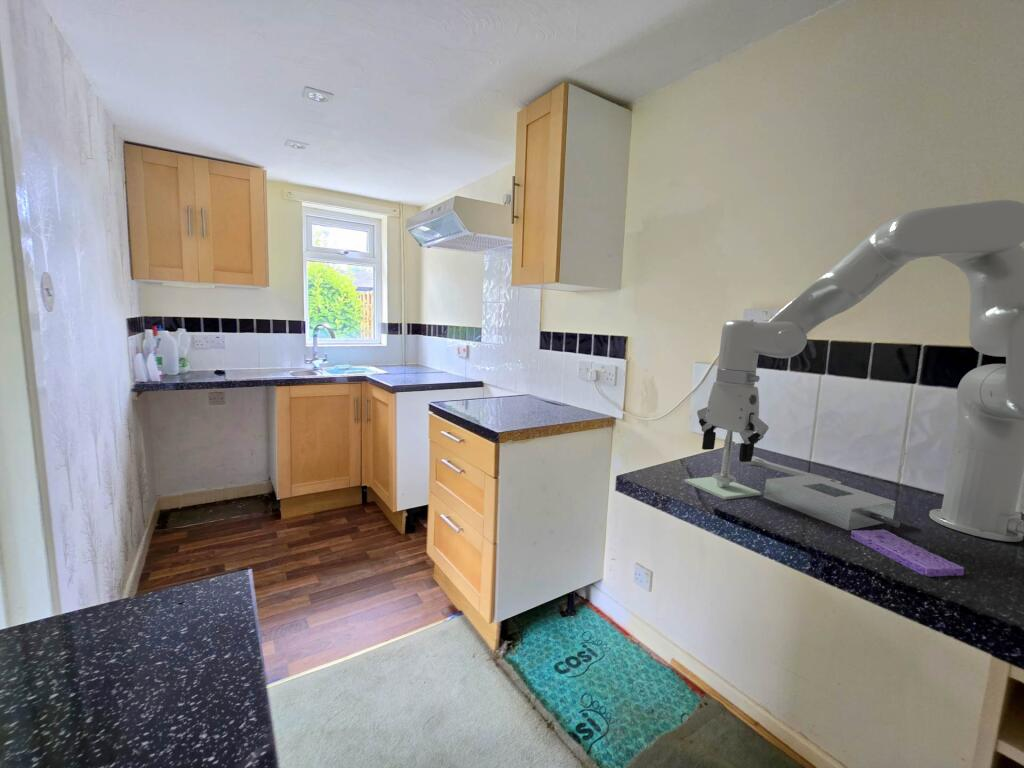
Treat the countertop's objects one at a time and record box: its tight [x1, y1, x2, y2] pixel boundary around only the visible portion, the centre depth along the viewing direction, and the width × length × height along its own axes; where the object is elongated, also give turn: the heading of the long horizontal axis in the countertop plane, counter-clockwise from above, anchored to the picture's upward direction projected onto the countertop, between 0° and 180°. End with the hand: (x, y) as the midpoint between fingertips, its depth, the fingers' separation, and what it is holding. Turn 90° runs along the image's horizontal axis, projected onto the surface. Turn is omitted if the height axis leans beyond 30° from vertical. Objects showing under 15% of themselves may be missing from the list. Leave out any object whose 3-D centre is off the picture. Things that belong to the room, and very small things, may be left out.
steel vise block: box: [763, 475, 901, 531], centre depth 89 cm, size 20×14×4 cm
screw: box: [711, 430, 737, 488], centre depth 98 cm, size 13×5×5 cm
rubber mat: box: [683, 476, 762, 500], centre depth 99 cm, size 11×11×1 cm
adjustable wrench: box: [737, 455, 842, 485], centre depth 116 cm, size 25×6×2 cm, turn 29°
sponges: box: [850, 529, 965, 578], centre depth 72 cm, size 7×13×2 cm, turn 9°
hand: (725, 455), depth 98 cm, fingers open, 9 cm apart
